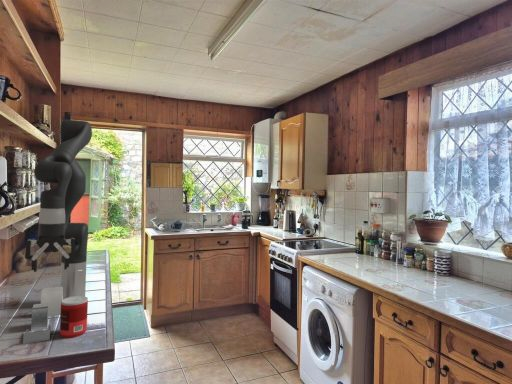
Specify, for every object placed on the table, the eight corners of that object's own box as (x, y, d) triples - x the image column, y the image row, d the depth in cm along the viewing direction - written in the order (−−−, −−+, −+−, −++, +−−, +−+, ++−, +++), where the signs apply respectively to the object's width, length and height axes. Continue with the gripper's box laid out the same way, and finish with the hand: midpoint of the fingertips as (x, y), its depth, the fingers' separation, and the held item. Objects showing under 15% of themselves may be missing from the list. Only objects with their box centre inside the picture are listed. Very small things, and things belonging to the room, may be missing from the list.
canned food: (90, 328, 115) (92, 296, 115) (79, 338, 107) (80, 303, 107) (68, 328, 114) (69, 295, 114) (54, 338, 106) (56, 303, 106)
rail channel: (26, 333, 109) (26, 323, 109) (50, 329, 112) (51, 320, 112) (23, 344, 101) (23, 334, 101) (49, 340, 105) (49, 330, 105)
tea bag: (61, 315, 126) (62, 288, 126) (40, 317, 123) (41, 289, 123) (62, 311, 129) (63, 285, 129) (41, 313, 126) (42, 287, 126)
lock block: (32, 324, 116) (33, 304, 116) (48, 322, 118) (49, 302, 119) (30, 331, 111) (31, 309, 111) (47, 328, 113) (48, 307, 113)
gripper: (76, 220, 119) (74, 266, 119) (27, 220, 112) (25, 269, 112) (76, 222, 112) (75, 270, 112) (25, 223, 105) (23, 275, 105)
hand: (50, 270), depth 112 cm, fingers open, 8 cm apart
